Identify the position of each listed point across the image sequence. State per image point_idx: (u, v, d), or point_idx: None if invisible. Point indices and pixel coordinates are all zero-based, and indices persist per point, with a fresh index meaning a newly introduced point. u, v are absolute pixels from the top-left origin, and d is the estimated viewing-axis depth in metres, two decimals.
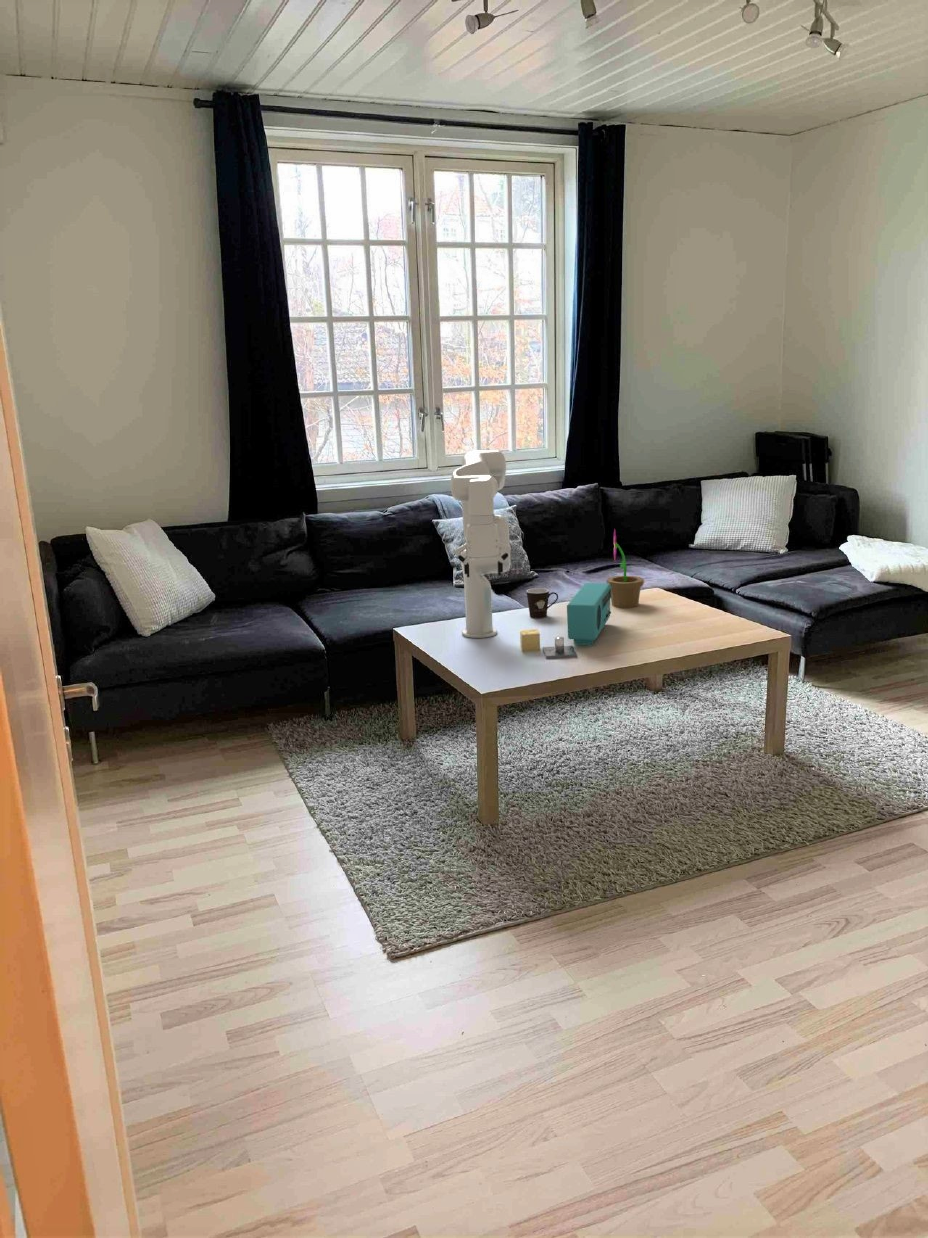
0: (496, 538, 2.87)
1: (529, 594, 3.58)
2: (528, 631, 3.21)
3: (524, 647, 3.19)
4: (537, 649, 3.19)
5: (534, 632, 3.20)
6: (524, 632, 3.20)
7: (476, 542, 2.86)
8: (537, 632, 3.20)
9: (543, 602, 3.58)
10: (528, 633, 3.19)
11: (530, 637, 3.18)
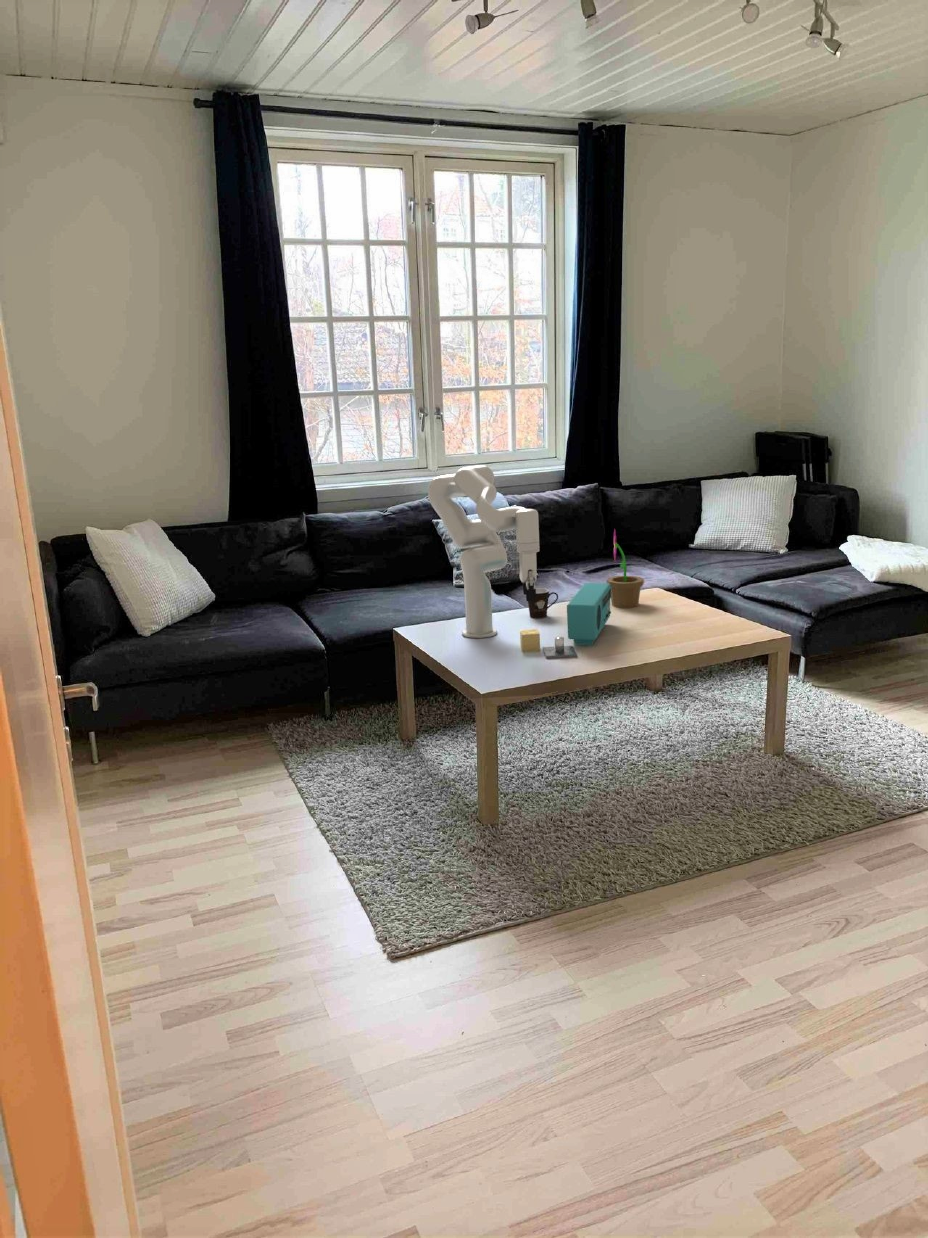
0: None
1: None
2: (528, 631, 3.21)
3: (524, 647, 3.19)
4: (537, 649, 3.19)
5: (534, 632, 3.20)
6: (524, 632, 3.20)
7: (536, 566, 3.13)
8: (537, 632, 3.20)
9: (543, 602, 3.58)
10: (528, 633, 3.19)
11: (530, 637, 3.18)
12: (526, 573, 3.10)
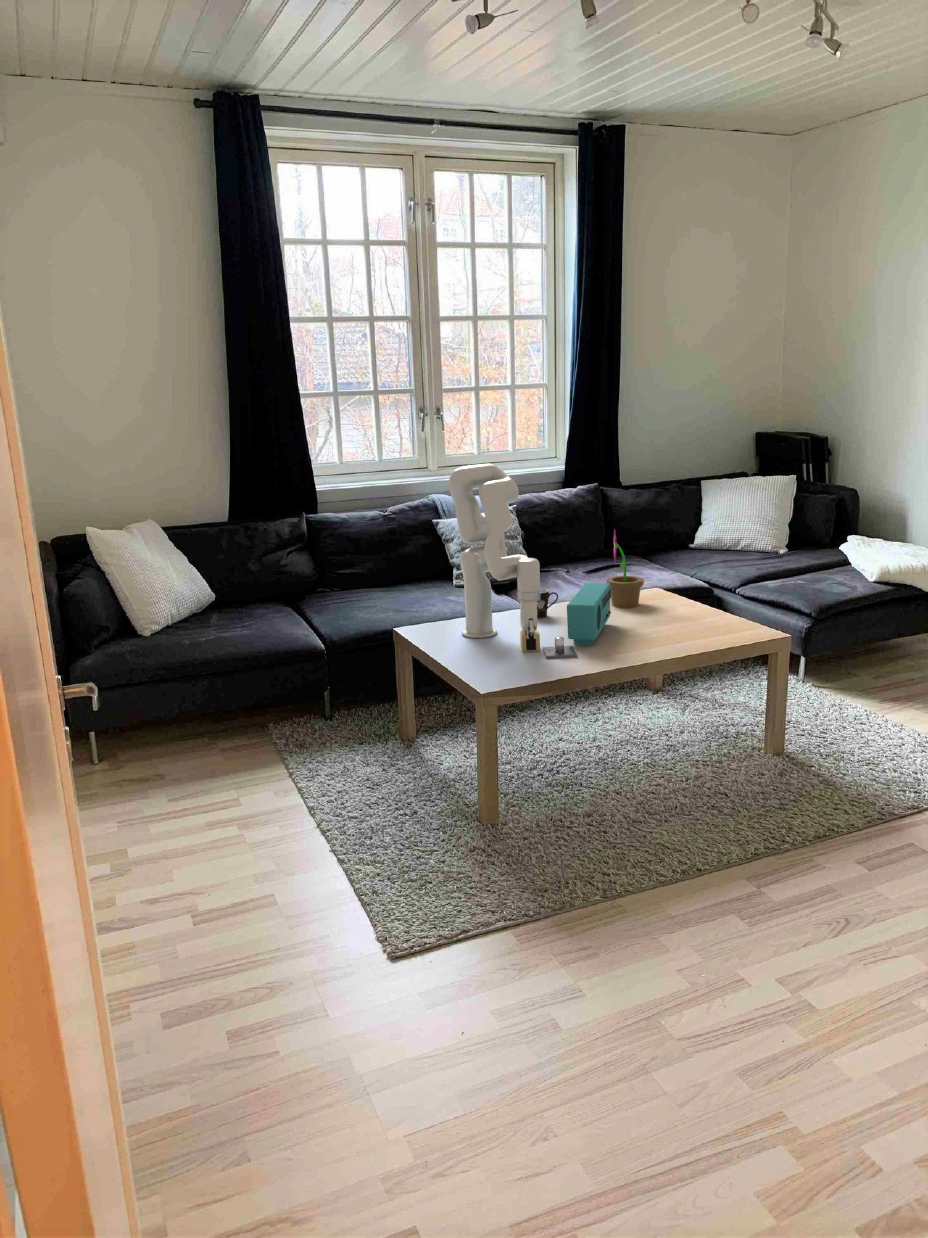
0: None
1: None
2: None
3: (524, 647, 3.19)
4: (537, 649, 3.19)
5: None
6: (524, 632, 3.20)
7: None
8: (537, 632, 3.20)
9: (543, 602, 3.58)
10: None
11: None
12: (527, 622, 3.14)
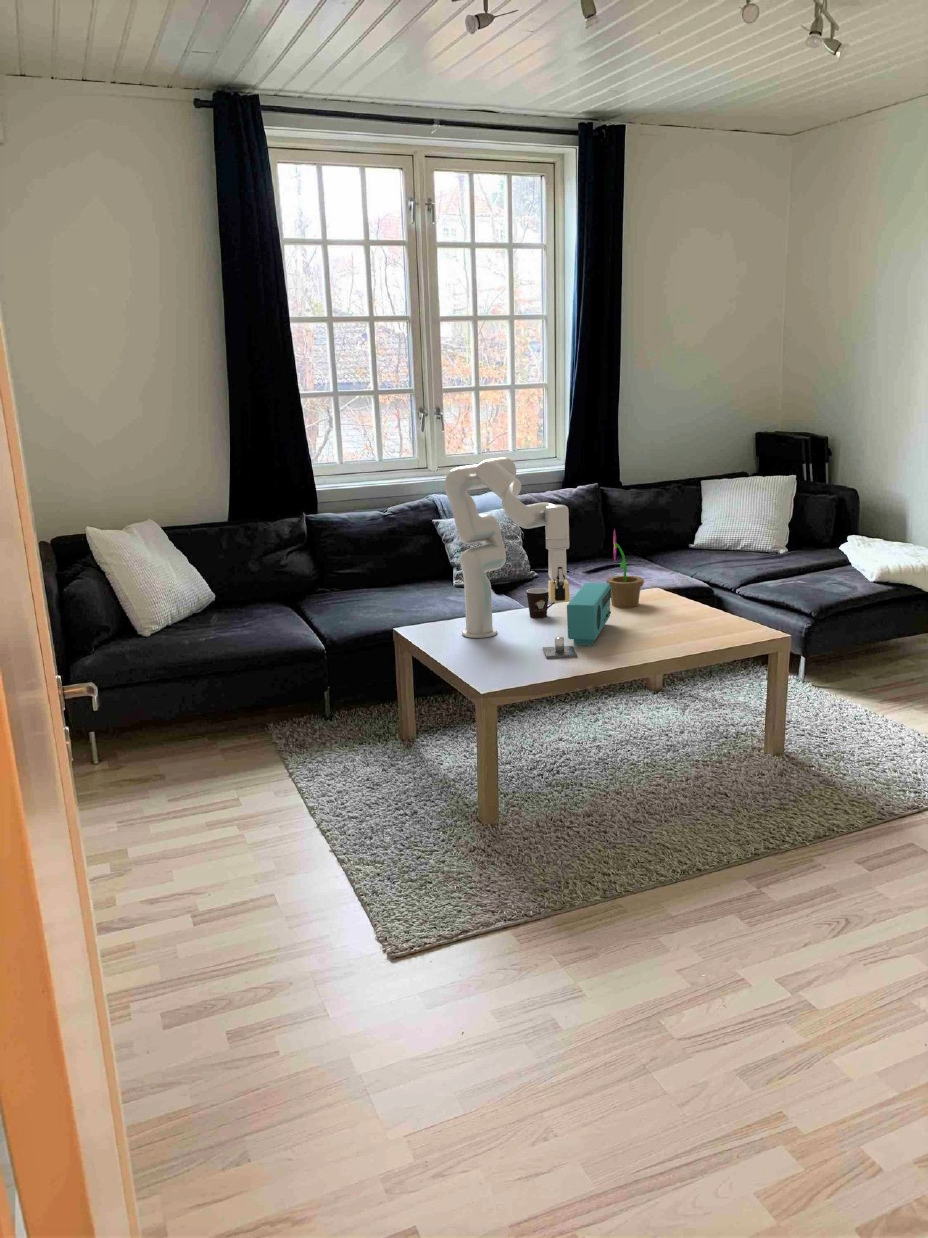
0: None
1: (529, 594, 3.58)
2: None
3: (553, 597, 3.07)
4: (566, 599, 3.08)
5: None
6: (553, 582, 3.09)
7: None
8: (566, 582, 3.08)
9: (543, 602, 3.58)
10: None
11: None
12: (556, 570, 3.03)
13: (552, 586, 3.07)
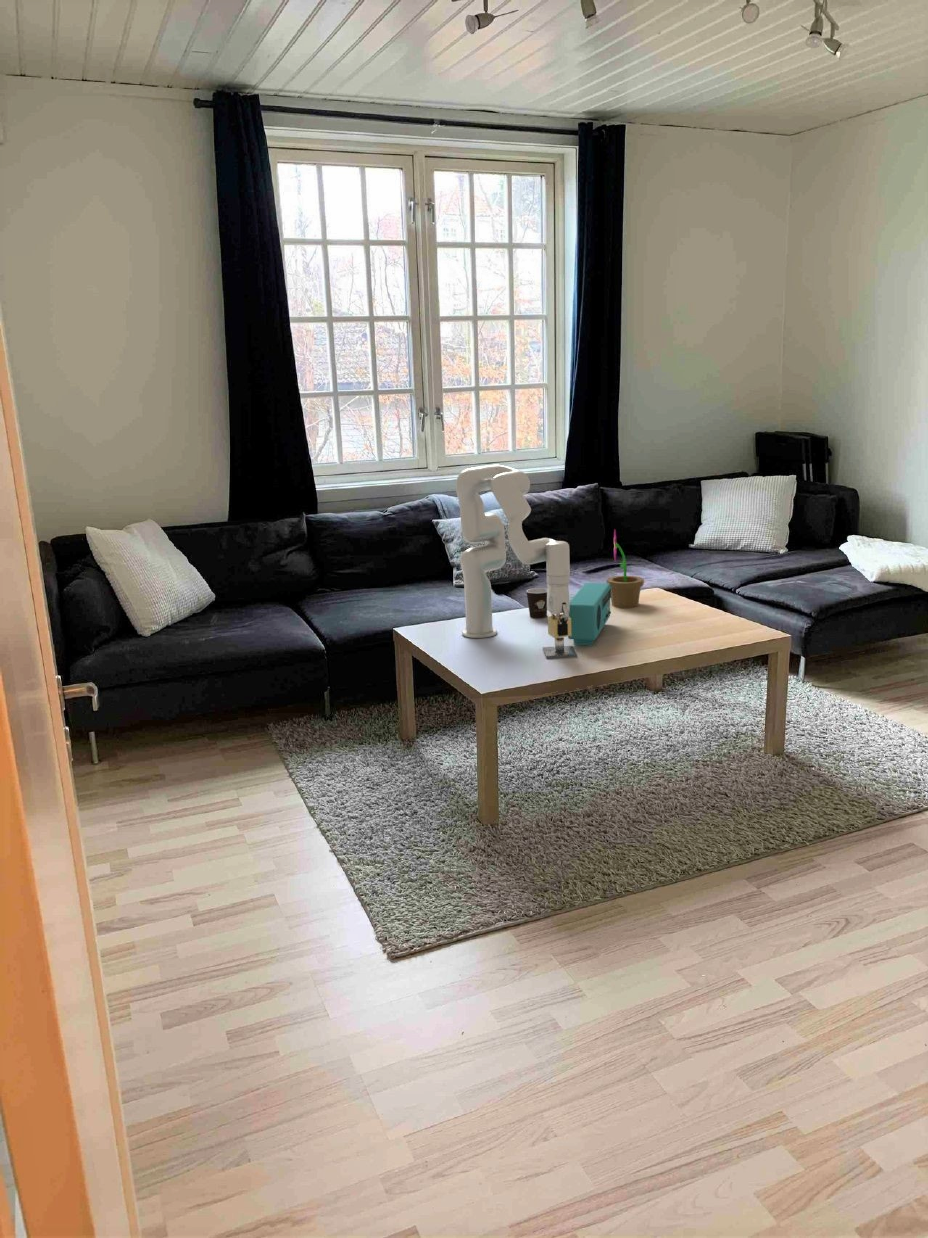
0: None
1: (529, 594, 3.58)
2: (557, 617, 3.13)
3: (556, 633, 3.10)
4: (568, 634, 3.11)
5: None
6: (554, 617, 3.12)
7: None
8: None
9: (543, 602, 3.58)
10: None
11: None
12: (560, 606, 3.06)
13: (555, 622, 3.09)
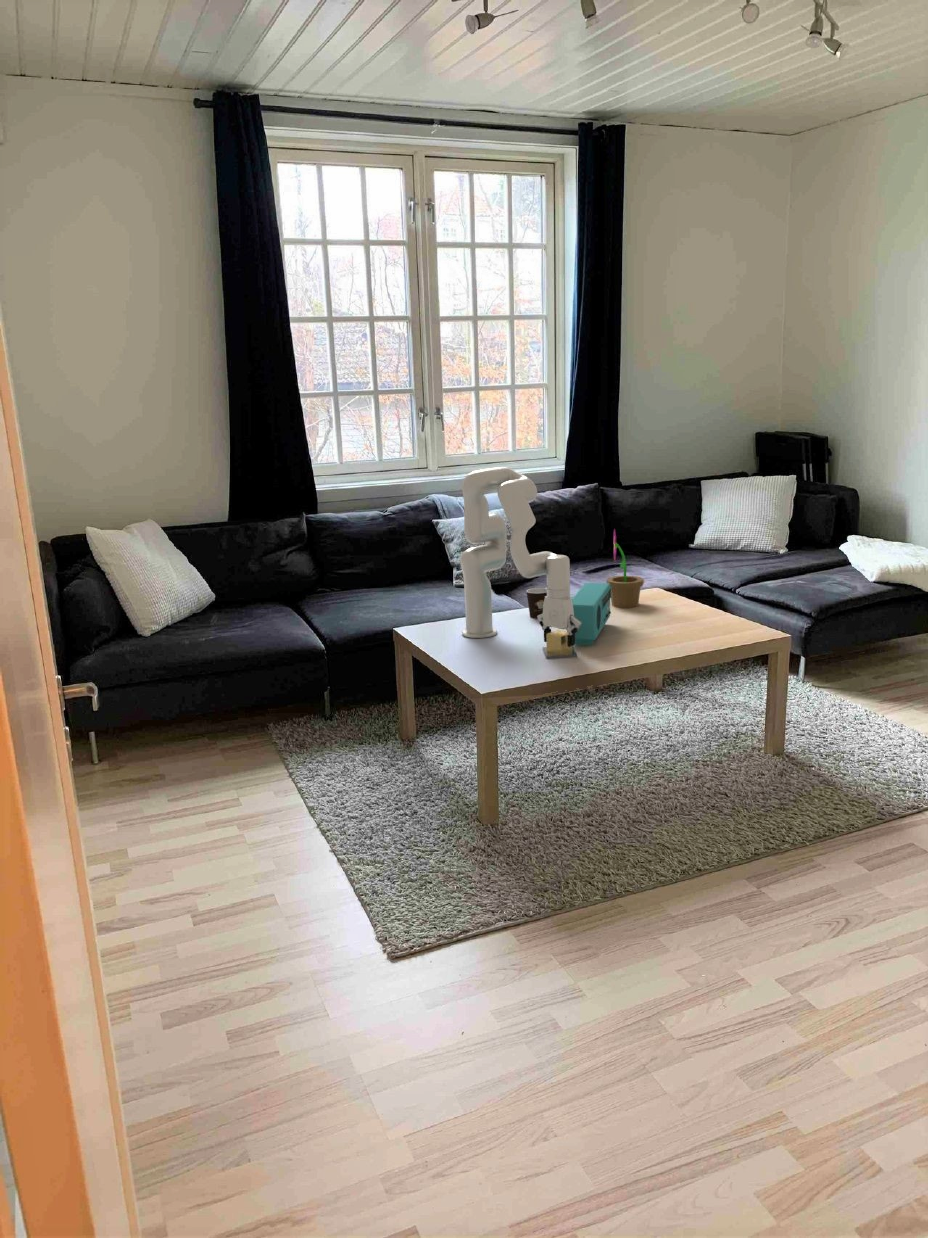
0: None
1: (529, 594, 3.58)
2: (557, 633, 3.14)
3: (562, 649, 3.12)
4: (570, 648, 3.15)
5: (564, 632, 3.14)
6: (556, 634, 3.12)
7: None
8: (566, 632, 3.15)
9: (543, 602, 3.58)
10: (562, 634, 3.12)
11: (566, 638, 3.12)
12: (569, 619, 3.08)
13: (562, 638, 3.10)
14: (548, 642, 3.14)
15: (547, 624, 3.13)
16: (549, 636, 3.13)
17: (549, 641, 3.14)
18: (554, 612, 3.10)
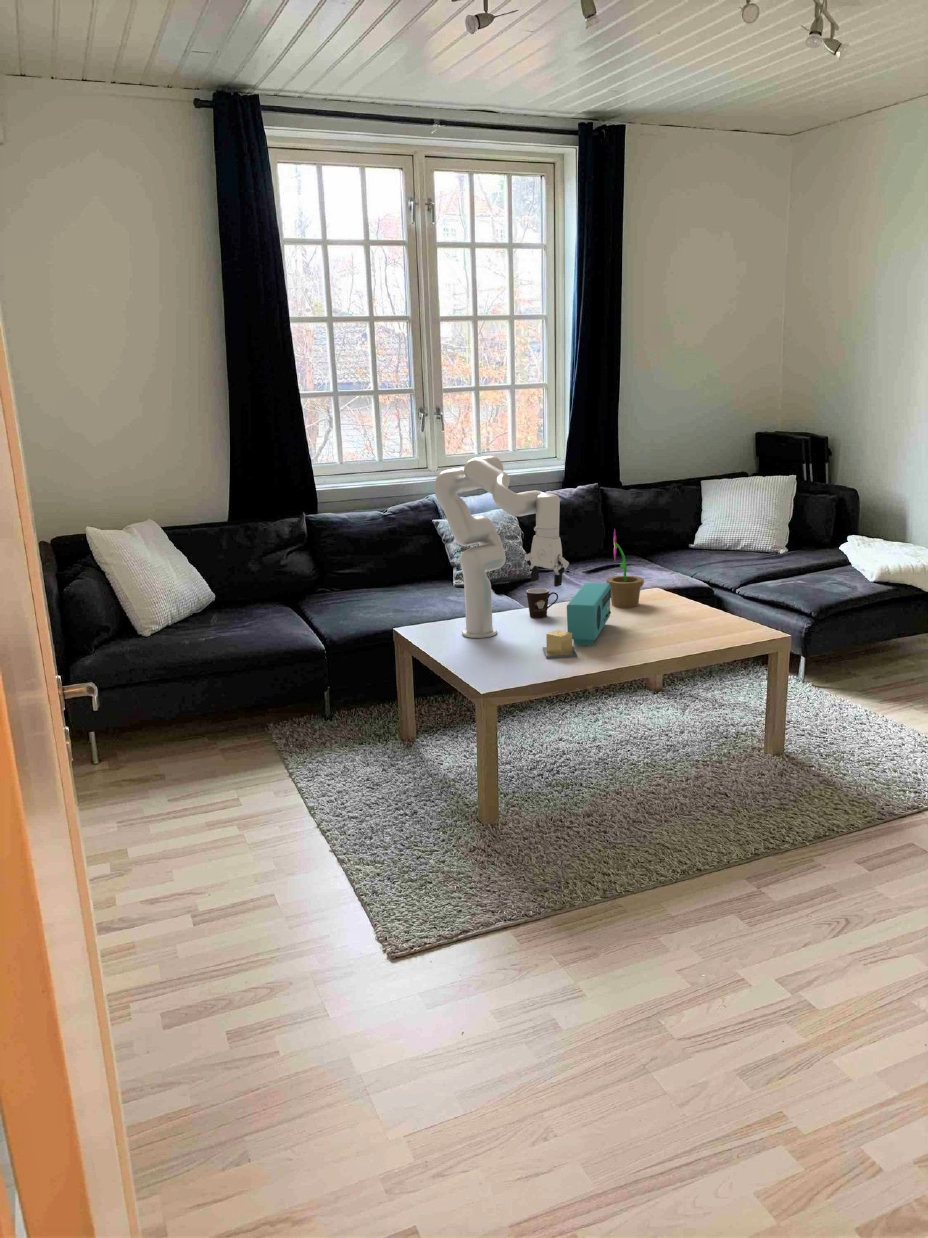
0: None
1: (529, 594, 3.58)
2: (557, 633, 3.14)
3: (562, 649, 3.12)
4: (570, 648, 3.15)
5: (564, 632, 3.14)
6: (556, 634, 3.12)
7: None
8: (566, 632, 3.15)
9: (543, 602, 3.58)
10: (562, 634, 3.12)
11: (566, 638, 3.12)
12: (556, 558, 3.08)
13: (562, 638, 3.10)
14: (548, 642, 3.14)
15: (535, 563, 3.13)
16: (549, 636, 3.13)
17: (549, 641, 3.14)
18: (542, 551, 3.09)
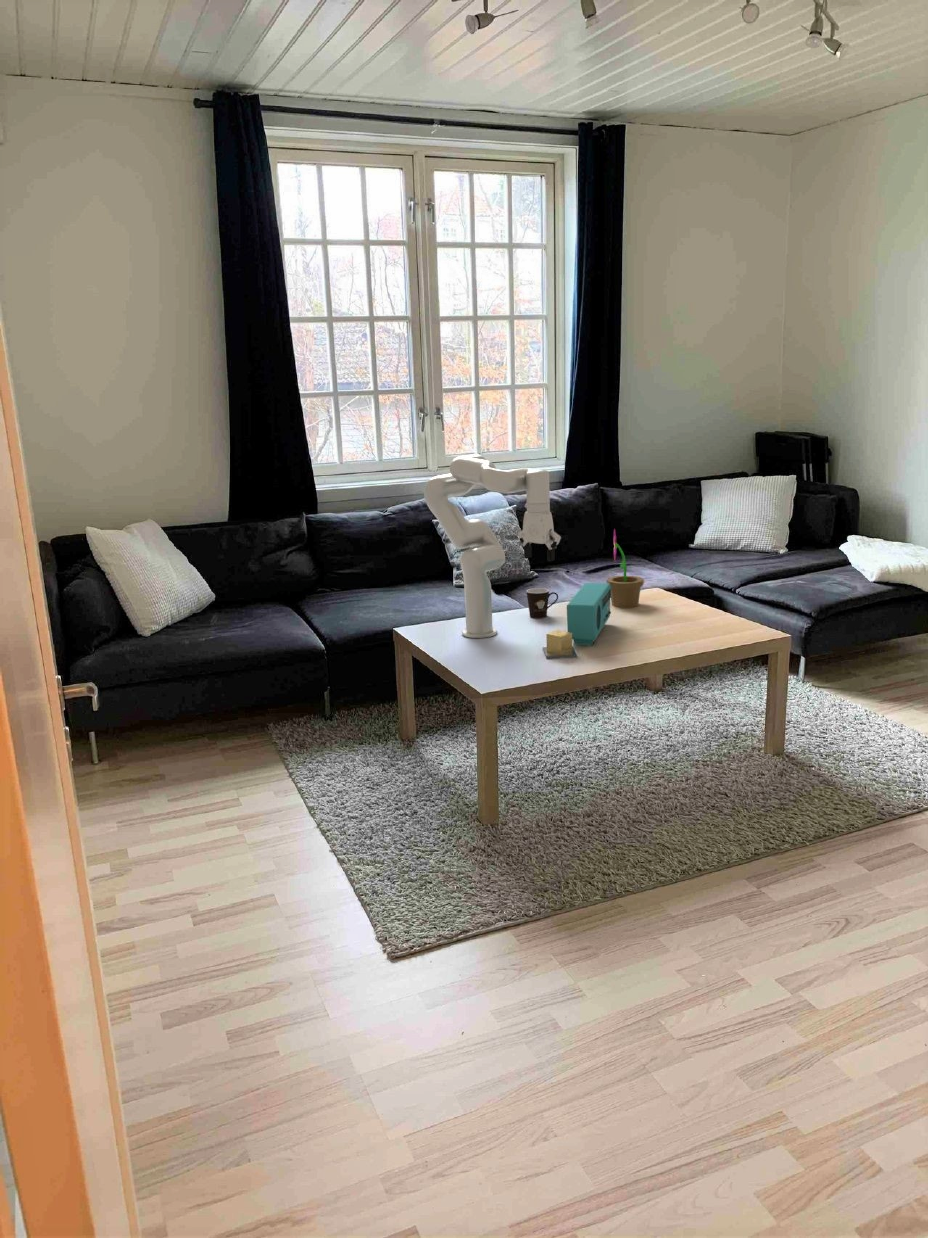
0: None
1: (529, 594, 3.58)
2: (557, 633, 3.14)
3: (562, 649, 3.12)
4: (570, 648, 3.15)
5: (564, 632, 3.14)
6: (556, 634, 3.12)
7: None
8: (566, 632, 3.15)
9: (543, 602, 3.58)
10: (562, 634, 3.12)
11: (566, 638, 3.12)
12: (548, 533, 3.10)
13: (562, 638, 3.10)
14: (548, 642, 3.14)
15: (527, 539, 3.14)
16: (549, 636, 3.13)
17: (549, 641, 3.14)
18: (534, 527, 3.11)
